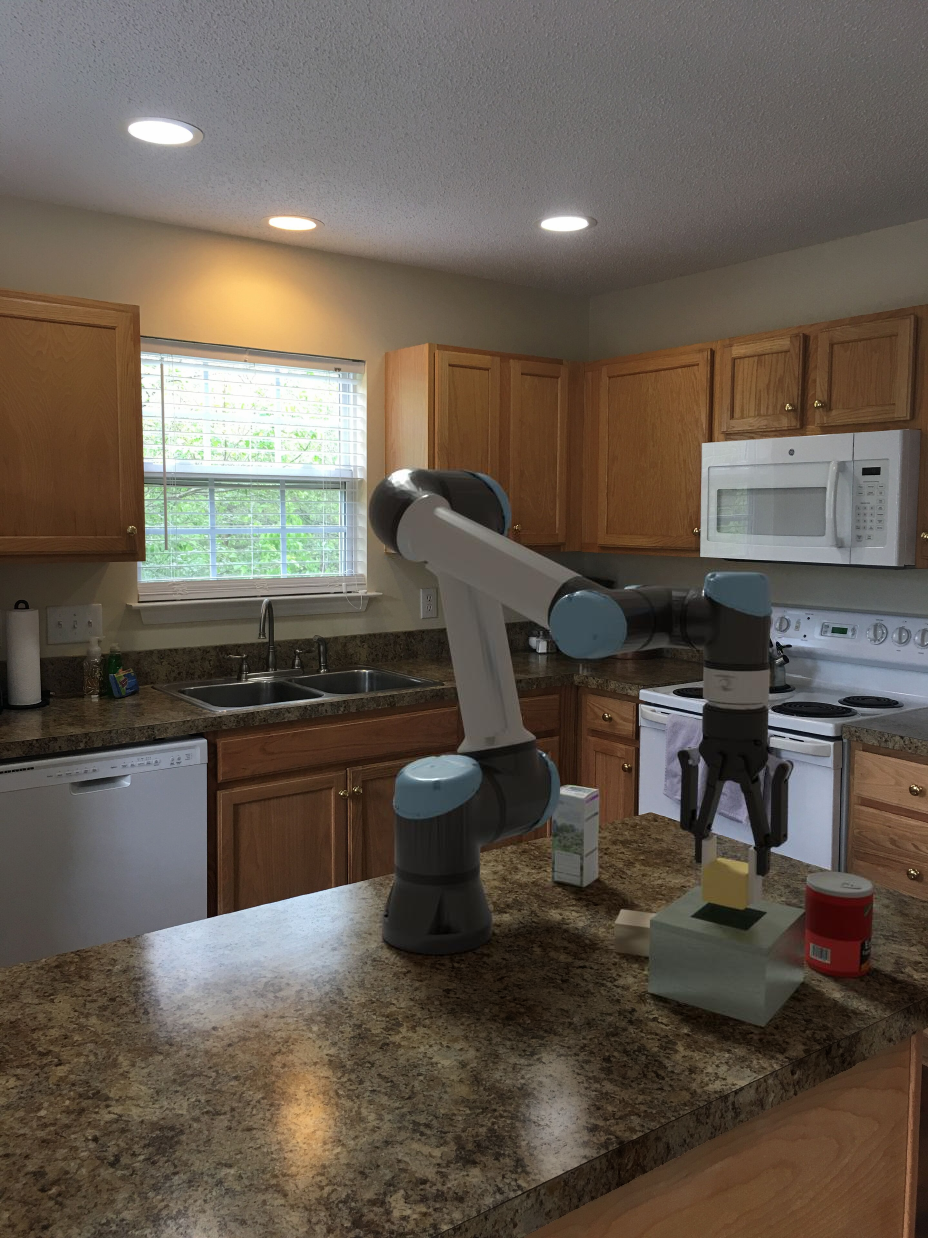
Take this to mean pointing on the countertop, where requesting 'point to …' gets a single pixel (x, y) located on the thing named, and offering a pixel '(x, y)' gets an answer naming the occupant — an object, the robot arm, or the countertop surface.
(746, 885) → the block
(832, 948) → the canned food
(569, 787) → the syrup box
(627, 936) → the block
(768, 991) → the box
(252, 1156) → the countertop surface
